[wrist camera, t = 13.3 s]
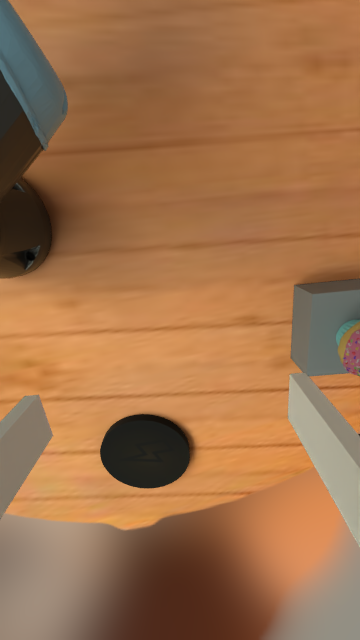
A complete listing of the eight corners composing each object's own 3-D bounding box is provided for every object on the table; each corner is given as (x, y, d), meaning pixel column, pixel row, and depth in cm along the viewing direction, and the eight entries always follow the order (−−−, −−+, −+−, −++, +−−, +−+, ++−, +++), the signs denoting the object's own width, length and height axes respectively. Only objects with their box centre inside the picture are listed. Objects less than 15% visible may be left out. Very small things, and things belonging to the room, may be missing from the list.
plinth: (294, 285, 40) (312, 294, 34) (378, 276, 39) (411, 284, 34) (290, 357, 44) (306, 376, 39) (366, 351, 44) (394, 369, 38)
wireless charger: (85, 447, 52) (82, 455, 50) (143, 397, 48) (142, 404, 46) (148, 491, 56) (147, 500, 55) (207, 449, 52) (208, 457, 50)
